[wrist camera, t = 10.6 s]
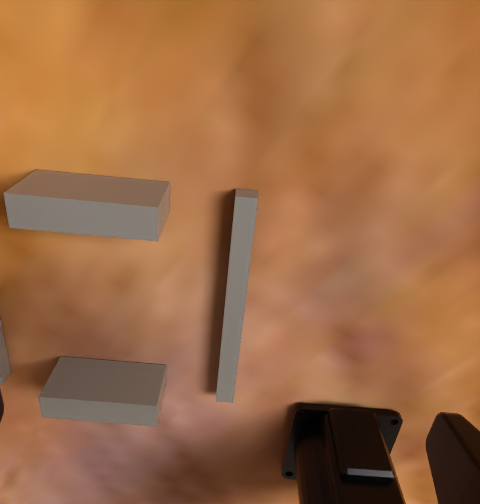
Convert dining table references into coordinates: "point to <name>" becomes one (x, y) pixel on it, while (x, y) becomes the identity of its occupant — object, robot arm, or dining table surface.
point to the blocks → (130, 227)
